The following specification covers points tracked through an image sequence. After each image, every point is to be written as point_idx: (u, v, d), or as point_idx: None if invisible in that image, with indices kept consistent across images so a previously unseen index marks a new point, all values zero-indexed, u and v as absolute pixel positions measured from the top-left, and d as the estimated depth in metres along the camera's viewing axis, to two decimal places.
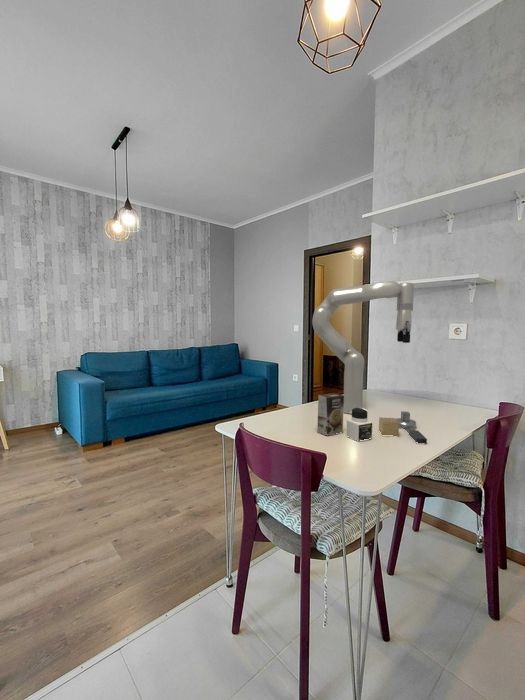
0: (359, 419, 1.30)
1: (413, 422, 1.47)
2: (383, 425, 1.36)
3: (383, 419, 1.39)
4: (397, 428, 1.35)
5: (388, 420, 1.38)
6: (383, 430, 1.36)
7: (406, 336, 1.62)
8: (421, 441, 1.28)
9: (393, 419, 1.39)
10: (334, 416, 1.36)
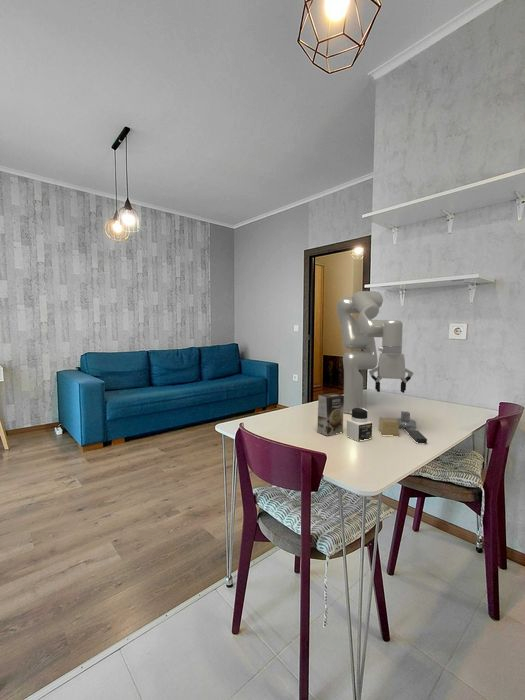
0: (359, 419, 1.30)
1: (413, 422, 1.47)
2: (383, 425, 1.36)
3: (383, 419, 1.39)
4: (397, 428, 1.35)
5: (388, 420, 1.38)
6: (383, 430, 1.36)
7: None
8: (421, 441, 1.28)
9: (393, 419, 1.39)
10: (334, 416, 1.36)
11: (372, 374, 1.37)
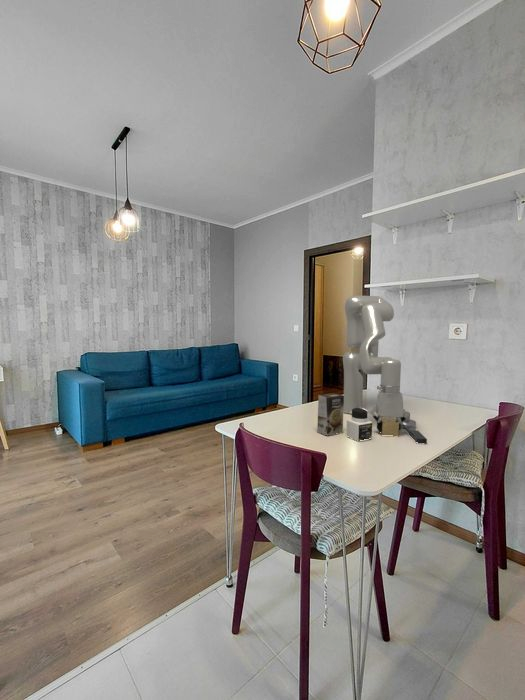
0: (359, 419, 1.30)
1: (413, 422, 1.47)
2: (383, 425, 1.36)
3: (383, 419, 1.39)
4: (397, 428, 1.35)
5: (388, 420, 1.38)
6: (383, 430, 1.36)
7: None
8: (421, 441, 1.28)
9: (393, 419, 1.39)
10: (334, 416, 1.36)
11: (373, 414, 1.39)
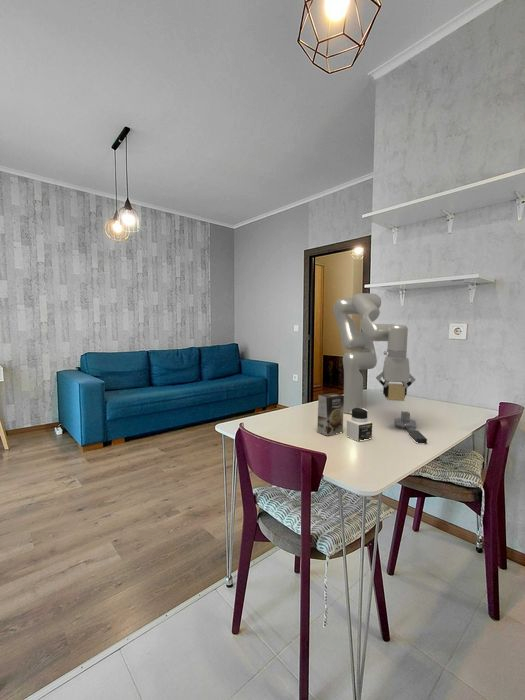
0: (359, 419, 1.30)
1: (413, 422, 1.47)
2: (389, 389, 1.38)
3: (389, 384, 1.41)
4: (403, 392, 1.37)
5: (394, 385, 1.40)
6: (389, 394, 1.38)
7: None
8: (421, 441, 1.28)
9: (399, 384, 1.41)
10: (334, 416, 1.36)
11: (379, 379, 1.41)
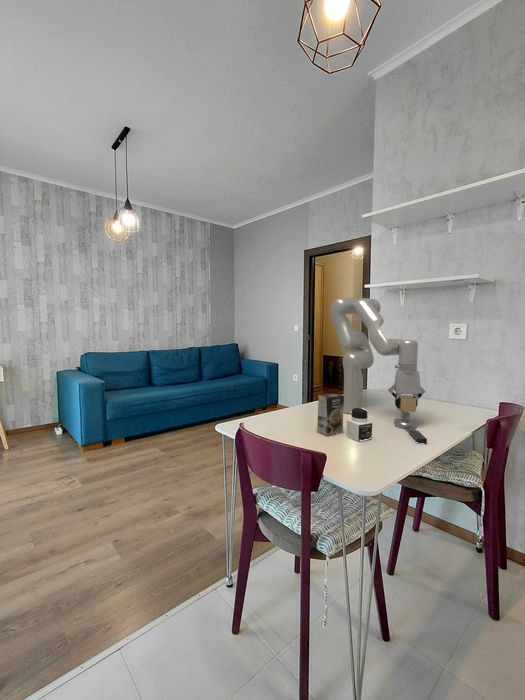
0: (359, 419, 1.30)
1: (413, 422, 1.47)
2: (401, 401, 1.46)
3: (401, 396, 1.49)
4: (414, 404, 1.45)
5: (406, 397, 1.47)
6: (401, 406, 1.46)
7: None
8: (421, 441, 1.28)
9: (410, 396, 1.49)
10: (334, 416, 1.36)
11: (391, 391, 1.48)
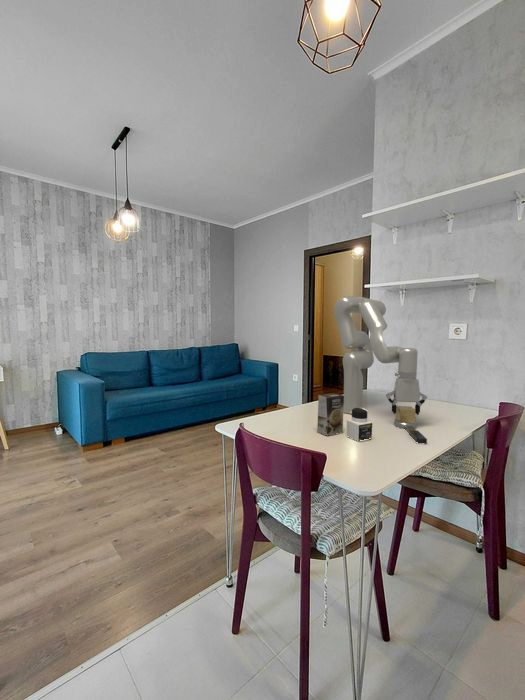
0: (359, 419, 1.30)
1: None
2: (400, 412, 1.46)
3: (400, 407, 1.49)
4: (414, 415, 1.46)
5: (405, 408, 1.48)
6: (400, 417, 1.46)
7: None
8: (421, 441, 1.28)
9: (409, 407, 1.50)
10: (334, 416, 1.36)
11: (388, 397, 1.49)
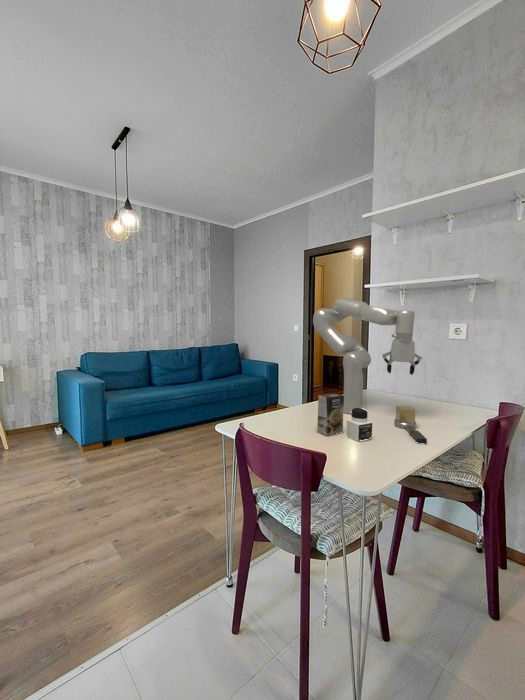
0: (359, 419, 1.30)
1: None
2: (400, 412, 1.46)
3: (400, 407, 1.49)
4: (414, 415, 1.46)
5: (405, 408, 1.48)
6: (400, 417, 1.46)
7: None
8: (421, 441, 1.28)
9: (409, 407, 1.50)
10: (334, 416, 1.36)
11: (384, 357, 1.56)
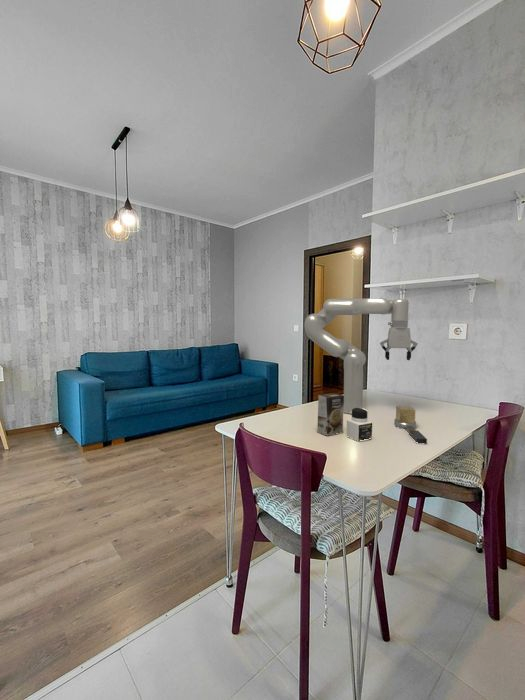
0: (359, 419, 1.30)
1: None
2: (400, 412, 1.46)
3: (400, 407, 1.49)
4: (414, 415, 1.46)
5: (405, 408, 1.48)
6: (400, 417, 1.46)
7: None
8: (421, 441, 1.28)
9: (409, 407, 1.50)
10: (334, 416, 1.36)
11: (382, 344, 1.63)
